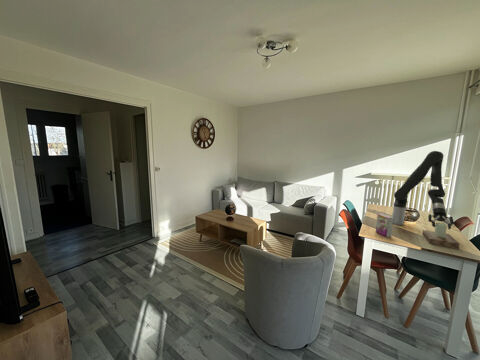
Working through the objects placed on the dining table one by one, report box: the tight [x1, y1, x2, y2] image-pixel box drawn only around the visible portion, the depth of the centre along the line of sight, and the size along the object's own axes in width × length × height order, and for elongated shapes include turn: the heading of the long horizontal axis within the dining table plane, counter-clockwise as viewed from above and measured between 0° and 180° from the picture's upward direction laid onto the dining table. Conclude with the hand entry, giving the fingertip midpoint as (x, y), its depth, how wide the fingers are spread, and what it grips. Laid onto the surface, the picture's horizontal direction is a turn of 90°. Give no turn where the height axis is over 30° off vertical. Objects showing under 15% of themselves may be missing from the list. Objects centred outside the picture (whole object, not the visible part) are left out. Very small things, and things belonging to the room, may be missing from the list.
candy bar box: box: [375, 213, 394, 238], centre depth 172 cm, size 11×5×16 cm, turn 9°
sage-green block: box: [434, 221, 448, 238], centre depth 159 cm, size 5×5×10 cm
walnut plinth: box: [422, 229, 460, 249], centre depth 160 cm, size 16×20×4 cm
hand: (441, 227), depth 158 cm, fingers open, 8 cm apart
